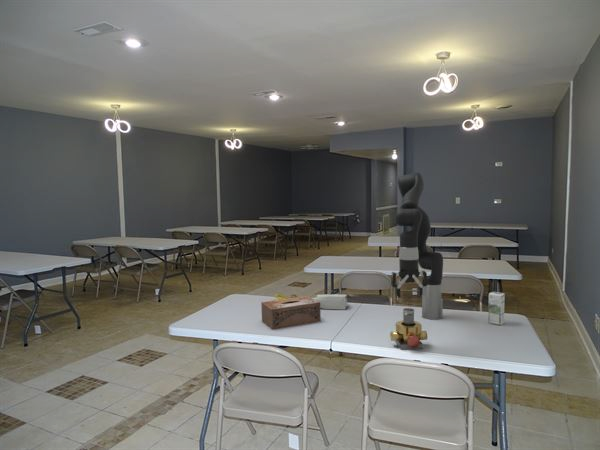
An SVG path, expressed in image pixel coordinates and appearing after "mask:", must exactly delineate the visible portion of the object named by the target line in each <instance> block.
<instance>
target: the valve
mask: <svg viewBox="0 0 600 450" xmlns="http://www.w3.org/2000/svg"><path fill="white" fill-rule="evenodd" d="M422 327H423V325H422V324H421V322H419V321H415V320H414V326H404V325H403V319H401V320H399V321H396V323H395V331H390V334H389V335H390V341H393V342H395V344H396V345H397V346H398V347H399V349H400V351H401V350H403V351H404V350H424V343H423V342H421V341H427V340H428V332H427V331H426V330H422Z"/></svg>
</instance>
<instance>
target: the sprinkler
mask: <svg viewBox="0 0 600 450" xmlns="http://www.w3.org/2000/svg"><path fill="white" fill-rule="evenodd" d="M273 297H274V298H277V300H282V299H289V298H296V297H299V296H298V295H297V294H295V293H294V294H291V295H290V297H288V296H284V295H282V294H275V295H274V296H273Z"/></svg>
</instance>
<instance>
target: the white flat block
mask: <svg viewBox="0 0 600 450" xmlns="http://www.w3.org/2000/svg"><path fill="white" fill-rule="evenodd" d="M312 298H313V299H315V300H317V301H319V302H320V310H321V309H322V310H344V311H346V310H347V309H348V308H347V307H348V297H347V294H336V293H334V294H317V295H316V297H312Z"/></svg>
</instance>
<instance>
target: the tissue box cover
mask: <svg viewBox="0 0 600 450" xmlns="http://www.w3.org/2000/svg"><path fill="white" fill-rule="evenodd" d="M288 298H289V299H284V298H283V299H282V300H279V299H276V300H269V301H261V304H260V305H261V322H262V323H263V324H264V325H266V326H267V327H268V328H270V330H278V329H283V328H290V327H295V326H302V325H308V324H309V325H310V324H313V323H318V322H321V319H322V318H321V308H320V302H319V301H317V300H315V299H313V298H314V297H310V296H308V295H305V296H298V297H296V298H290V297H288Z"/></svg>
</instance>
